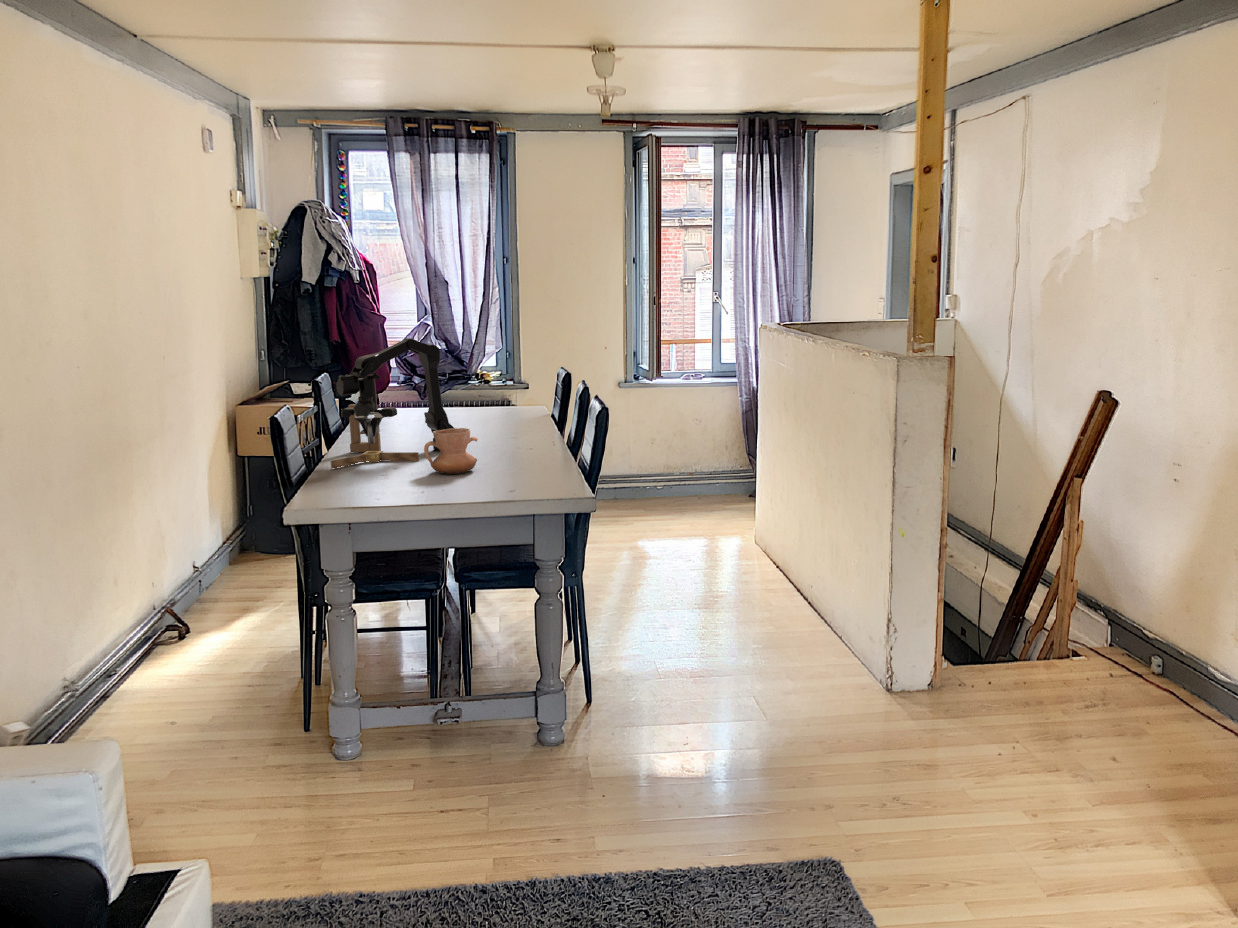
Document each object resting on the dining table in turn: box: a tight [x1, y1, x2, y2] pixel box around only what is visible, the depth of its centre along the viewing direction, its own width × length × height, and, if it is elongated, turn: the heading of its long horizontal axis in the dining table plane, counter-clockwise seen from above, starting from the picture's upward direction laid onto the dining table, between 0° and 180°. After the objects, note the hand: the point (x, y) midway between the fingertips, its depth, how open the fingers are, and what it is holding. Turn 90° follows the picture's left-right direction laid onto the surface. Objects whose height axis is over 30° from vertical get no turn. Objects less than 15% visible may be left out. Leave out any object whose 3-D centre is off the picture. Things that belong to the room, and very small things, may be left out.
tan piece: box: [330, 450, 420, 468], centre depth 358 cm, size 26×18×3 cm
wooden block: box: [347, 403, 382, 453], centre depth 381 cm, size 4×11×18 cm, turn 92°
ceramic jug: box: [423, 427, 479, 475], centre depth 340 cm, size 18×14×14 cm
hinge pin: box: [365, 417, 375, 444], centre depth 363 cm, size 3×3×9 cm
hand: (371, 436), depth 363 cm, fingers closed on hinge pin, 2 cm apart
